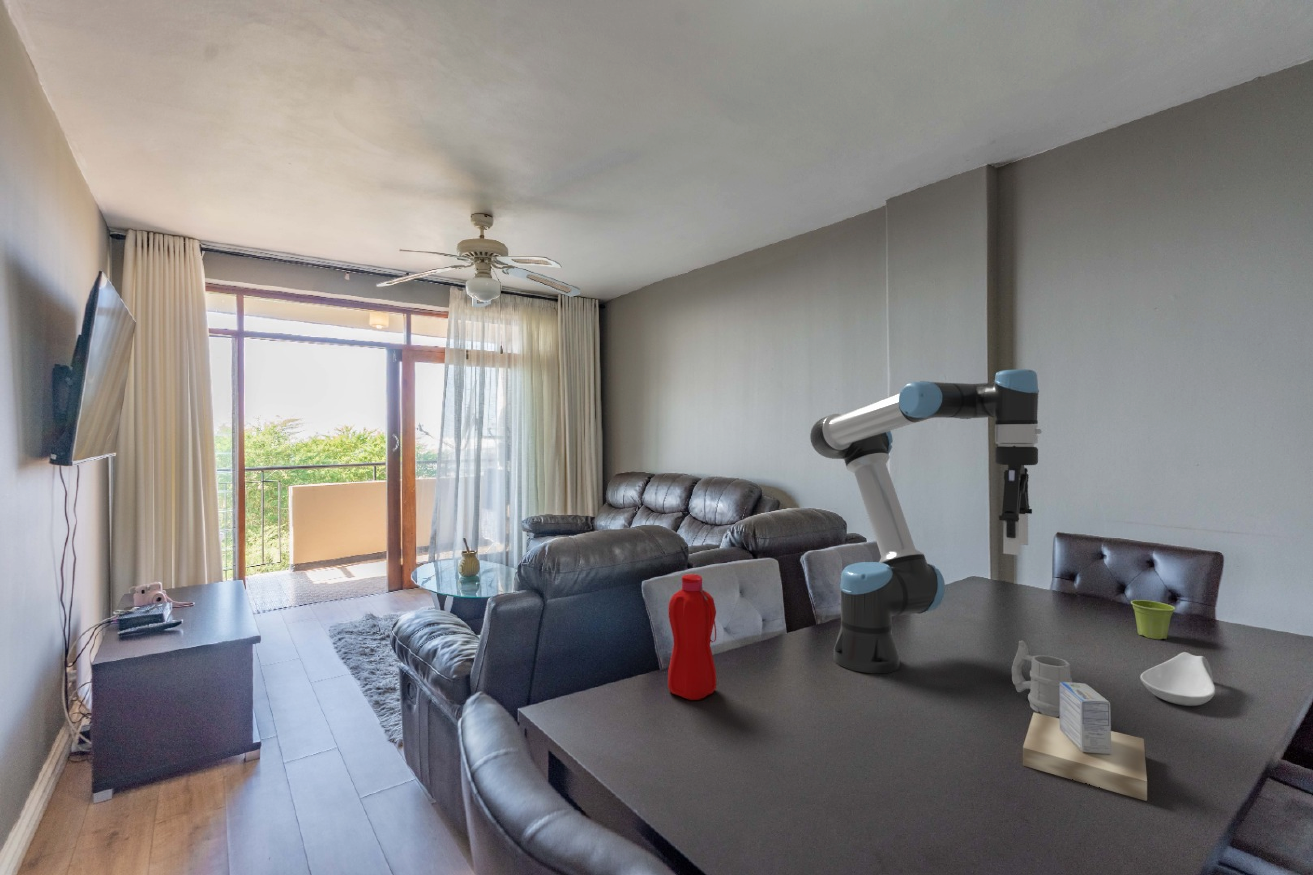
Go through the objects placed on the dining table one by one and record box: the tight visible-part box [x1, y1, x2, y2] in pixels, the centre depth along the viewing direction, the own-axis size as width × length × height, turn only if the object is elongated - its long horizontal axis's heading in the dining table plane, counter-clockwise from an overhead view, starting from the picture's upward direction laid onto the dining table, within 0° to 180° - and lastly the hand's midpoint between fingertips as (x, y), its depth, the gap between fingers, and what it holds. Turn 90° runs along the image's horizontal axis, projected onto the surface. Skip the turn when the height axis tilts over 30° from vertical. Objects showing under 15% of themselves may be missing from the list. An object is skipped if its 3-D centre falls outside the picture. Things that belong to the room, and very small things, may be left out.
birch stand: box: [1022, 712, 1148, 802], centre depth 101 cm, size 16×16×3 cm
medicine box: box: [1059, 681, 1112, 755], centre depth 101 cm, size 8×4×9 cm, turn 169°
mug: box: [1011, 640, 1073, 718], centre depth 122 cm, size 8×12×12 cm, turn 25°
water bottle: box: [667, 573, 717, 701], centre depth 128 cm, size 9×11×25 cm
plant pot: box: [1130, 599, 1176, 640], centre depth 164 cm, size 9×9×9 cm
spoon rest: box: [1139, 651, 1216, 707], centre depth 128 cm, size 24×12×7 cm, turn 127°
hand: (1016, 549), depth 122 cm, fingers open, 13 cm apart
